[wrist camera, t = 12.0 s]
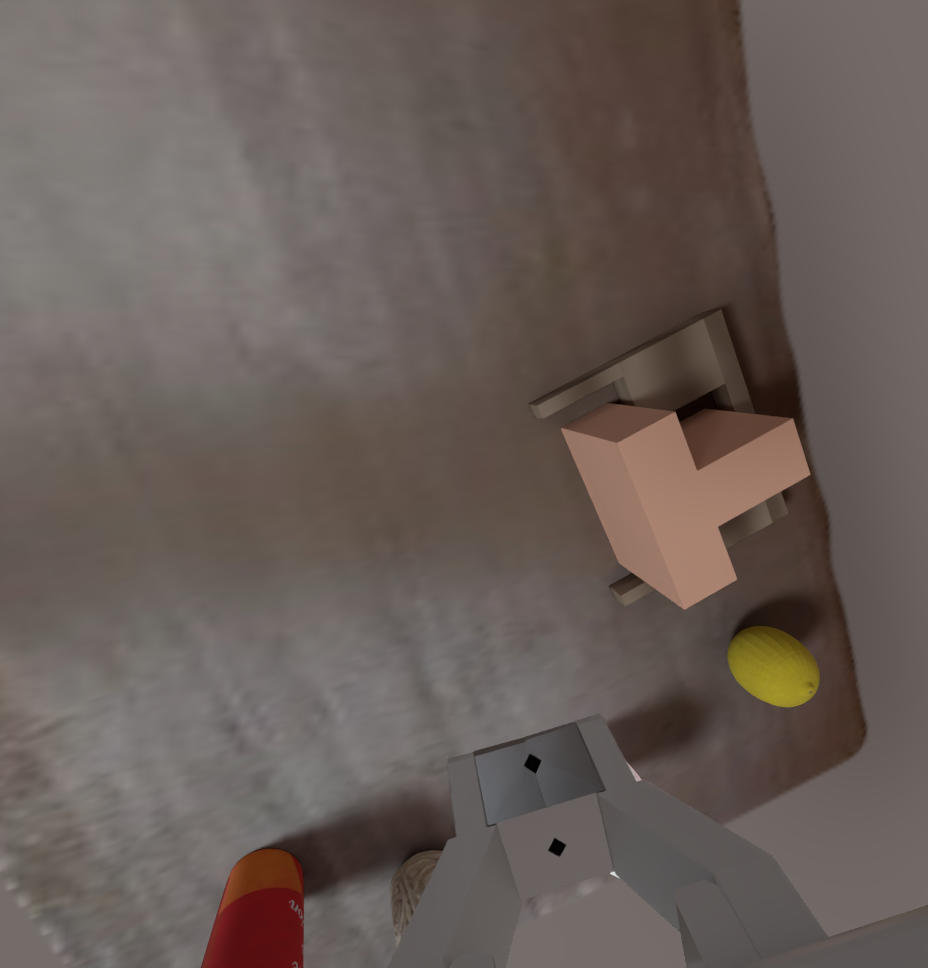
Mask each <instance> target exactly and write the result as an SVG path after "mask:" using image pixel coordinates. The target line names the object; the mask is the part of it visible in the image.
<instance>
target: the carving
mask: <svg viewBox="0 0 928 968" xmlns="http://www.w3.org/2000/svg"><path fill="white" fill-rule="evenodd" d="M442 852H443V851H436V850H431V851H425V852H420V853H418V854H416V855H414V856H413V857H411V858H410V859H409V860H407V861H406V862H405V863H404V864H403V865H402V866H401V867H400V868H399V869H398V870H397V872H396V873H395V875H394V876H393V878H392V881H391V887H390V896H391V909H392V921H393V927H394V933H395V940H396V942H397V943H396V948H397V947H398V945H399V943H400V940H401V938H402V936H403V934H404V932H405V930H406V928H407V926H408V924H409V921H410V919H411V917H412V915H413V913H414V911H415V909H416V907H417V904H418V902H419V900H420V898H421V896H422V894H423V892H424V890H425V888H426V885H427V883H428V881H429V879H430V877H431V875H432V873H433V871H434V868H435V866H436V864H437V862H438V860H439V858H440V856H441V854H442Z"/></svg>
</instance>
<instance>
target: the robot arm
mask: <svg viewBox="0 0 928 968" xmlns="http://www.w3.org/2000/svg"><path fill="white" fill-rule="evenodd" d="M447 769H448V777H449V785H450V793H451V801H452V809H453V817H454V825H455V832H456V837H454V838H451V839H448V841H447V843H446V845H445V847H444V849H443V852H442V854H441V856H440V858H439V860H438V862H437V864H436V866H435V868H434V871H433V873H432V875H431V877H430V879H429V881H428V883H427V885H426V888H425V890H424V892H423V894H422V896H421V898H420V900H419V902H418V904H417V907H416V909H415V911H414V913H413V915H412V917H411V919H410V921H409V924H408V926H407V928H406V930H405V932H404V934H403V936H402V938H401V940H400V943H399V945H398V947H397V949H396V951H395V953H394V955H393V957H392V960H391V962H390V964H389V966H388V968H505V967H506V963H507V959H508V955H509V951H510V947H511V943H512V939H513V935H514V931H515V928H516V924H517V920H518V916H519V912H520V908H521V902H520V901H522V900H525V899H527V898H530V897H533V896H536V895H539V894H542V893H545V892H548V891H550V890H553V889H556V888H559V887H562V886H565V885H568V884H572V883H575V882H579V881H582V880H586V879H589V878H593V877H597V876H600V875H604V874H607V873H611V872H615V874H616V875H617V876H618V877H619V878H620V879H621V880H623V881H624V882H625V883H626V884H627V885H628V886H629V887H630V888H631V889H632V890H634V891H635V892H636V893H637V894H638V895H639V896H640V897H641V898H642V899H644V900H645V901H646V902H647V903H648V904H649V905H650V906H651V907H652V908H654V909H655V910H656V911H657V912H658V913H659V914H660V915H661V916H662V917H664V918H665V919H666V920H667V921H668V922H669V923H670V924H671V925H672V926H673V927H675V928H676V929H677V930H678V931H679V932H680V933H681V939H682V944H683V950H684V956H685V961H686V967H687V968H928V905H927V906H924V907H921V908H918V909H914V910H911V911H908V912H905V913H902V914H899V915H896V916H893V917H890V918H886V919H884V920H880V921H877V922H874V923H871V924H868V925H865V926H862V927H859V928H855V929H853V930H849V931H846V932H843V933H840V934H837V935H834V936H831V937H828V936H827V934H826V933H825V932H824V930H823V928H822V927H821V925H820V924H819V923H818V921H817V920H816V918H815V917H814V915H813V914H812V913H811V911H810V910H809V908H808V907H807V905H806V904H805V903H804V901H803V899H802V898H801V897H800V895H799V893H798V892H797V891H796V889H795V888H794V886H793V885H792V883H791V882H790V880H789V879H788V877H787V876H786V875H785V873H784V872H783V870H782V869H781V867H780V866H779V864H778V863H777V861H776V860H775V859H774V857H773V856H772V855H771V854H769V853H767V852H766V851H764V850H762V849H761V848H759V847H757V846H755V845H754V844H752V843H750V842H749V841H747V840H745V839H744V838H742V837H740V836H739V835H737V834H735V833H734V832H732V831H730V830H729V829H727V828H725V827H724V826H722V825H720V824H719V823H717V822H715V821H714V820H712V819H710V818H709V817H707V816H705V815H703V814H702V813H700V812H698V811H697V810H695V809H693V808H692V807H690V806H688V805H687V804H685V803H683V802H682V801H680V800H678V799H677V798H675V797H673V796H672V795H670V794H668V793H667V792H665V791H663V790H661V789H660V788H658V787H656V786H655V785H653V784H651V783H650V782H648V781H646V780H645V779H644V780H640V781H636V780H635V778H634V776H633V774H632V772H631V770H630V768H629V766H628V764H627V762H626V760H625V758H624V756H623V754H622V752H621V750H620V749H619V747H618V745H617V743H616V741H615V739H614V737H613V735H612V733H611V731H610V729H609V727H608V725H607V723H606V721H605V719H604V718H603V716H602V715H600V714H596V715H593V716H590V717H586V718H583V719H580V720H577V721H575V722H571V723H568V724H565V725H561V726H558V727H555V728H552V729H549V730H545V731H542V732H539V733H536V734H533V735H529V736H526V737H524V738H520V739H517V740H513V741H509V742H506V743H502V744H499V745H495V746H491V747H488V748H484V749H480V750H477V751H474V752H472V753H468V754H464V755H461V756H457V757H453V758H449V759H448V763H447Z"/></svg>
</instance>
